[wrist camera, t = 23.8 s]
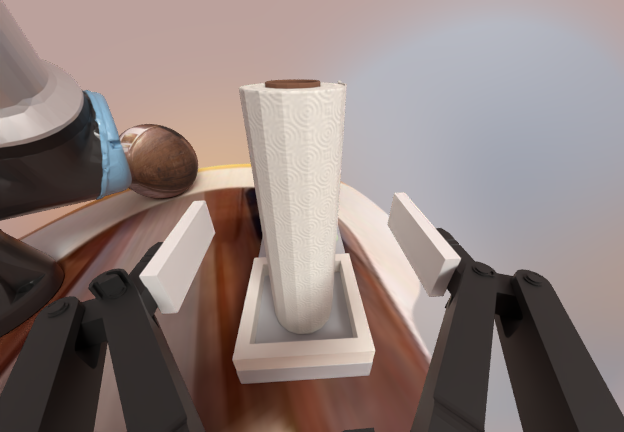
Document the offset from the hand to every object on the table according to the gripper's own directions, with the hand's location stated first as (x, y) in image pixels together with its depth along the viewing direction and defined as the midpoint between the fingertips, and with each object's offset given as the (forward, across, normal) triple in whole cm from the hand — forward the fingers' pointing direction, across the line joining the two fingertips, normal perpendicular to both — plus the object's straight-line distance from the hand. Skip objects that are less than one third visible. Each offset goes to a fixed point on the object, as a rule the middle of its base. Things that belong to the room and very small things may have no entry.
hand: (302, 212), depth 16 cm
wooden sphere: (+35, -30, -16) cm, 48 cm away
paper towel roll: (+2, 0, -14) cm, 14 cm away
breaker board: (+9, 0, -16) cm, 18 cm away
